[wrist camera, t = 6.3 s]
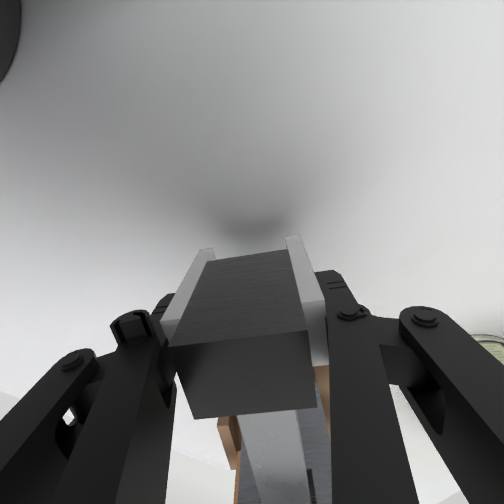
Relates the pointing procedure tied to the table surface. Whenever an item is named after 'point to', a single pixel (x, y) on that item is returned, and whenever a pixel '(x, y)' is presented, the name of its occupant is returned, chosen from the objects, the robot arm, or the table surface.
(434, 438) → the robot arm
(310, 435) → the bearing blocks
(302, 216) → the table surface
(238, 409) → the shaft
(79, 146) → the table surface
